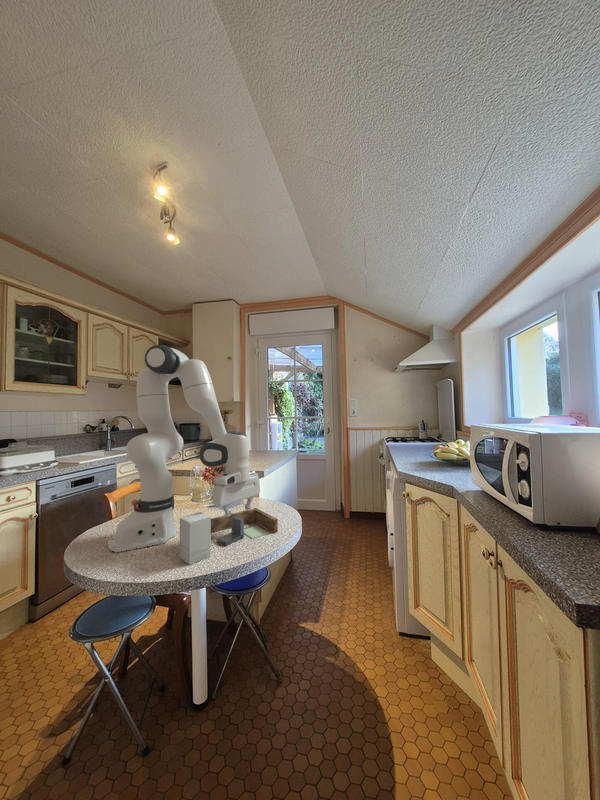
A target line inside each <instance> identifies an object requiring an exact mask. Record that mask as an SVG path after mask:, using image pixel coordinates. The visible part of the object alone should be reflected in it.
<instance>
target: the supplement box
mask: <svg viewBox="0 0 600 800" xmlns="http://www.w3.org/2000/svg"><path fill="white" fill-rule="evenodd" d="M211 519H212V517H211V516H209V515H207V514H206V513H204V512H201V511H199V512H195V513H191V514H188V515H183V516H181V517H179V558H180V559H181V560H183V562H185V563H186V564H187V565H192V564H195V563H197V562H198V563H199V562H201V561H203V560H205V559H207V558H208V559H209V558H210V557H211V554H212V553H211V552H212V551H211V547H212V545H211V544H212V543H211V542H212V541H211V539H212V537H211V534H212V533H211Z"/></svg>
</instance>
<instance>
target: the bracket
mask: <svg viewBox="0 0 600 800" xmlns="http://www.w3.org/2000/svg"><path fill="white" fill-rule="evenodd" d="M244 526H245V524H244V519H242V518H239V517H236V516H234V517H232V528H231V532H229V533H227V534H224V535H222V536H220V537H218V538H216V543H217V544H220V545H221V544H222V546H224V547H228V546H230V545H232V543H233V544H235V543H237V542H239V541H240V540H243V539H244V537H245V534H244V528H245V527H244Z"/></svg>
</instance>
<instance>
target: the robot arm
mask: <svg viewBox="0 0 600 800" xmlns="http://www.w3.org/2000/svg"><path fill="white" fill-rule="evenodd" d="M144 362H145V366H146V367H147V368H144V369H142V370H141V369H140V371H139V372H138V374H137V378H136V406H137V414H138V415H137V416H138V418H139V420H141V422H142V423H143V425H145V427H146V429H147V432H145V433H142V434H139V435H137V436H134V437H132V438H131V439H129V441H128V442H127V445H126V447H125V451H126V452H125V454H126V455H127V458H128V459H129V461H130V462H132V463H133V464H134V465H135V467H136V469H137V472H138V476H139V480H140V481H139V484H140V485H139V486H140V490H139V491H140V495H139V496H140V497H139V499H138V500H137V499H132V500H131V502H130V504H131V505H132V506H133V511H132V512H131V513H130V514H128V515H127V516H126V517H125V518H124V519H122V520H121V521H120V522H119V523H118V525H117V526H116V530H115V534H114V535H113V536H111V537H110V538H108V541H107V549H108V548H109V549H108V550H109V551H110V550H111V552H112V551H114V552H113V553H122V552H126V550H127V551H132V550H137V549H141V548H146V547H147V546H148V547H151V546H152V545H153V546H157V545H161V544H164V543H165V544H166V543H167V541H168V540H169V539H170V538H172V537H175V535H176V534H177V532H178V530H177V527H176V523H175V517H174V516H175V515H174V510H175V496H174V493H173V492H174V490H173V489H174V482H173V481H174V477H173V476H174V475H173V474H172V472H171V471H169V469H168V466H167V462H166V459H170V458H173V457H174V456H177V454H179V453H180V452H181V451H182V450H183V448H184V438H183V437H182V435H181V434H180V433H179V432H178V430H177V429H176V426H175V424H174V421H173V417H172V414H171V407H170V395H169V382H170V381H171V382H175V381H178V380H179V381H180V383H181V387H182V391H183V396H184V399H185V400H186V403H187V405H188V407H189V408H190V409H192V410H193V411H194V412H197V413H198V414H199V415H200V416H202V417H203V418H204V420H205V421H206V422H207V426H208V429H209V432H210V434H211V438H212V440H210V441H208V442H206V443H204V444H203V445H202V446H201V448H200V449H199V452H198V453H199V454H198V455H199V456H198V457H199V460H200V462H201V463H202V464H203V465H204V466H205V467H208V468H216V467H219V466H225V470H223V472H221V473H220V474H218V475H217V476H215V477H214V478H213V483H214V486H213V488H212V504H213V505H214V506H215V507H216V508H222V510H223V511H224V515H225V517H230V516H231V514H232V511H231V510H230V509H229V508H230V505H231V504H235V503H238V502H241V501H243V500H247V501H246V504H244V509H245V510H249V509H252V502H253V500H254V497H256V496H259V495H260V493H261V484H260V478H259V473H258V472H256V471H255V470H254V471H251V468H250V462H249V458H250V443H249V437H248V435H247V434H246V433H244V432H243V431H242V432H241V431H233V430H231V431H228V430H227V427H226V425H225V424H226V423H225V420H224V418H223V414H222V412H221V409H220V407H219V403H218V400H217V395H216V392H215V387H214V383H213V381H212V378H211V374H210V372H209V370H208V368H207V366H206V365H207V364H206V363H205V362H204V361H202V360H201V359H198V358H190V356H189V355H188V354H187V353H184V352H182V351H180V350H179V349H176V348H173V347H169V346H167V345H164V344H155V345H152V346H150V347H149V348H148V349H147V350H146V352H145V354H144ZM153 546H152V547H153ZM148 547H147V548H148ZM136 548H137V549H136ZM121 551H122V552H121Z"/></svg>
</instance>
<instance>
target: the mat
mask: <svg viewBox="0 0 600 800" xmlns="http://www.w3.org/2000/svg"><path fill="white" fill-rule="evenodd" d="M244 535H246V536H247V537H248V538H250V540H251V539H252V540H253V539H257V538H260V537H263V536H266V535H269V532H268V531H266V530H264V529H263V528H261V527H260V526H257V525H256V524H254V525H251V526H247V527H244Z"/></svg>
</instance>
